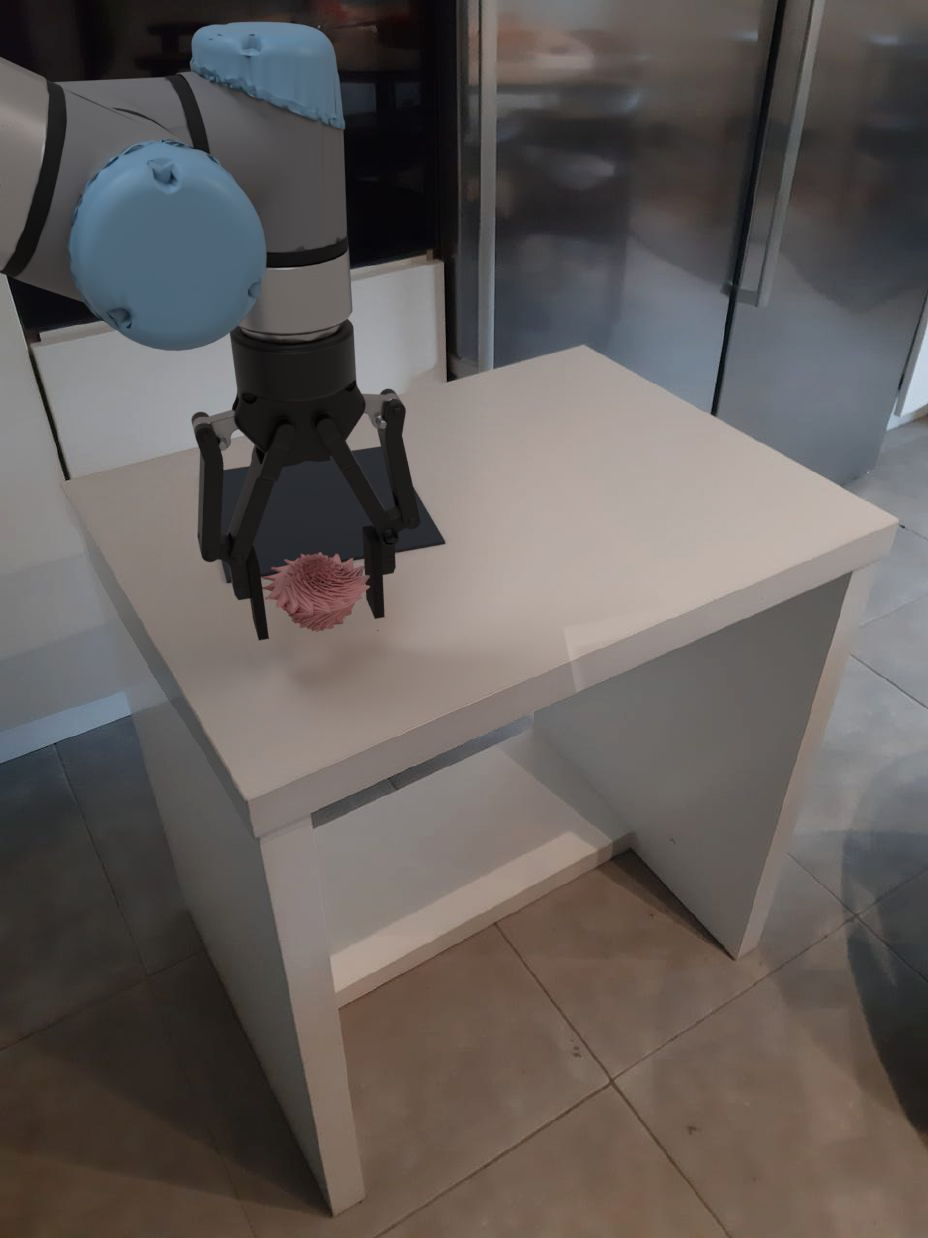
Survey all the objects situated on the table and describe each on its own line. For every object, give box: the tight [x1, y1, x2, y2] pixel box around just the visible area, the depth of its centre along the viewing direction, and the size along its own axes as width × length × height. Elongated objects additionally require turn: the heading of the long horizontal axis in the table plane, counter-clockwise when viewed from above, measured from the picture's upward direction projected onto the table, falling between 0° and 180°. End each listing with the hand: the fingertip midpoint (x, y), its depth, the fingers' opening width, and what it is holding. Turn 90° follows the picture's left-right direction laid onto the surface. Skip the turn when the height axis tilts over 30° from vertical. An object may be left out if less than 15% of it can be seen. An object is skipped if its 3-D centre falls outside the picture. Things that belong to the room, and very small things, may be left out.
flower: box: [261, 552, 370, 633], centre depth 72 cm, size 8×8×6 cm
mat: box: [221, 445, 446, 584], centre depth 96 cm, size 20×20×1 cm
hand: (319, 618), depth 73 cm, fingers closed on flower, 8 cm apart
